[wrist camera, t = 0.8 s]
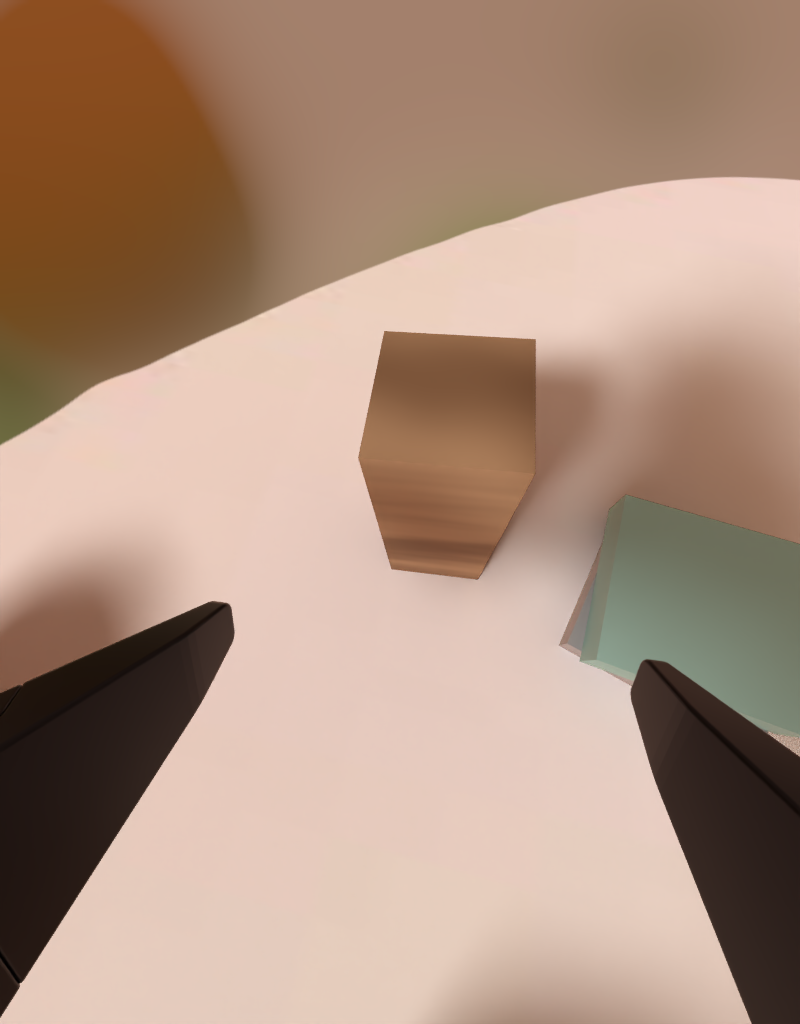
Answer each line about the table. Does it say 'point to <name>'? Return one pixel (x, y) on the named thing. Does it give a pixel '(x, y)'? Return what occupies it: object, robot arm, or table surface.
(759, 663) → the teal tile
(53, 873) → the robot arm
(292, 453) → the table surface
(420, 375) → the walnut pillar
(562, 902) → the table surface
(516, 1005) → the table surface
